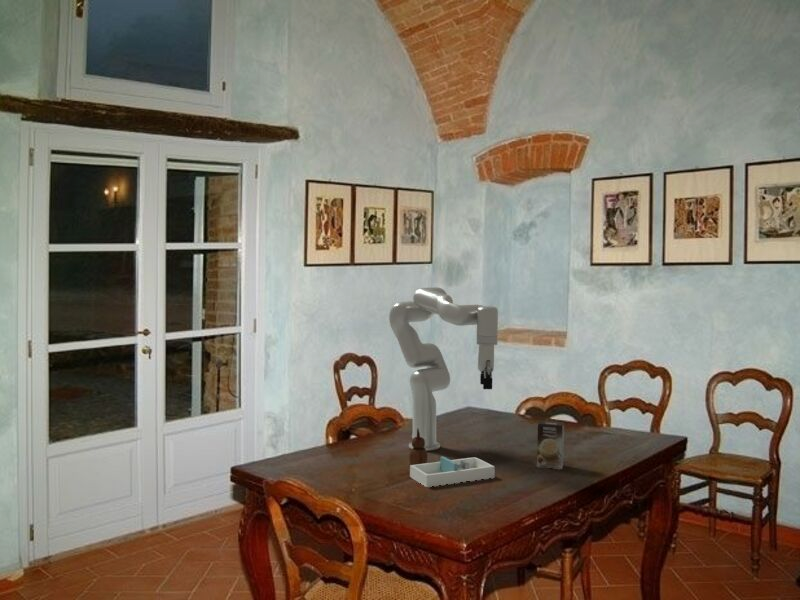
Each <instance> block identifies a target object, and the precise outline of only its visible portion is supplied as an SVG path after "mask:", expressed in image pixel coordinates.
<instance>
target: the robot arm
mask: <svg viewBox="0 0 800 600" xmlns="http://www.w3.org/2000/svg"><path fill="white" fill-rule="evenodd" d="M412 300H413V301H412ZM412 300H411V301H409V300H408V301H400V302H397V303H396V304H394V305H393V306H392V307H391V309H389V310H390V311H389V317H388V319H389V321H388V322H389V325H390V328H391V330H392V331H393V334H394V335H395V337H396V339H397V341H398V344H399V347H400V350H401V353H402V355H403V357H404V359H405V363H406V364H407V365H408V366H409V367H410V368H413V369H417V370H415V371H413V372H412V374H411V375H410V378H409V386H410V391H411V396H412V400H411V401H412V434H411V437H412V439H413V438H415V437H417V428H418V429H419V433H420V437H422V438H424V440H425V446H424V448H425V449H426V451H427V452H428V451H429V452H430V451H436V450H438V449H440V447H441V444H440V443H439V442H437V402H436V398H435V396H434V394H433V393H434V392H438V391H444V390H446V389H447V388H448V387H449V386H450V383H451V376H450V372H449V369H448V366H447V365H446V361H445V359H444V356H443V354H442V352H441V350H440V349H439V347H438V346H437V345H436V344H434V343H429V342H426V343H422V341H421V339H420V336H419V334H418V332H417V331H416V329H415V328H414V327H413V326H412V325H411V324H410V323H417V322H424V321H427V320H429V319H430V318H431V317H433V316H434V315H439V317H440V318H441V320H442V321H444V322H447V323H449V324H452V325H455V326H461V327H463V326H474V325H476V345H477V346H478V357H477V358H478V359H477V360H478V361H477V369H478V371H479V372H480V375H479V376H480V378H479V379H480V385H483V386H482V388H483V390H493V372H494V370H495V369H494V368H495V346H496V345H498V334H499V333H498V329H499V327H498V321H499V319H498V318H499V316H498V315H499V312H498V308H497V307H495V306H490V305H489V306H487V305H486V306H485V305H480V304H461V305H459V304H455V303H454V302H453V300H454V299H453V298H452V297H451V296H450V294H447V292H446V291H445V290H444V289H443V288H441V287H438V286H436V287H421V288H419V289H416V291H415V292H414V293H413V297H412ZM419 368H420V369H419ZM408 448H409V449H411V450H412V449H413V446H412V441H411V442H409V443H408Z"/></svg>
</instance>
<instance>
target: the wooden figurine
mask: <svg viewBox="0 0 800 600" xmlns="http://www.w3.org/2000/svg"><path fill="white" fill-rule="evenodd" d="M411 442H412V446H413V449H411V450H410V451H409V455H408V460H409V464H410V465H417V464H425V463H428V451H426V449H425V448H424V446H425V440H424V438H422V437H420V433H419V429H418V428H417V437H415V438H412V441H411Z"/></svg>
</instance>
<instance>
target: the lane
mask: <svg viewBox="0 0 800 600" xmlns="http://www.w3.org/2000/svg"><path fill="white" fill-rule="evenodd" d="M450 460H451V461H453V462H455V463H457V464H461V460H464V461H466V462H468V463H469V469H465V470H462V469H457V471H450V472H443V471H441V470H440V461H436V462H427V463H425V464H417V465H410V466H409V477H410V478H411V479H413V480H414V481H416V482H417V483H418V484H420V483H421V484H420V485H422V486H423V485H424V486H423V487H425V488H426V487H427V488H431V487H432V486H434V487H440V486H439V485H441V486H446V484H448V485H453V484H454V483H455V484H461V483H460V482H463V483H467V482H466V481H470V482H476V481H475V480H477V481H482V480H481V479H484V480H489V478H491V479H495V477H496V476H495V473H496V471H495V465H492V464H490V463H488V462H487V461H485V460H482V459H480V458H478V457H475V456H474V457H466V458H465V457H464V458H457V459H450Z"/></svg>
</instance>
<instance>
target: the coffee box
mask: <svg viewBox="0 0 800 600" xmlns="http://www.w3.org/2000/svg"><path fill="white" fill-rule="evenodd" d="M564 437H565V422H564V421H553V420H552V421H550V420H542V419H541V420H539V421H538V423H537V443H536V445H537V447H536V448H537V449H536V450H537V451H536V453H537V454H536V458H537V459H536V468H541V467H542V469H550V468H553V469H552V470H560V469H561V470H562V469H563V466H564V444H565V443H564V440H565V438H564Z"/></svg>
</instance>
